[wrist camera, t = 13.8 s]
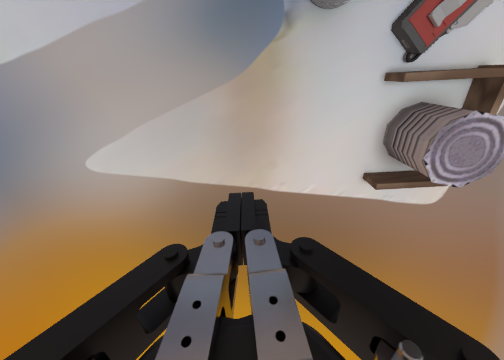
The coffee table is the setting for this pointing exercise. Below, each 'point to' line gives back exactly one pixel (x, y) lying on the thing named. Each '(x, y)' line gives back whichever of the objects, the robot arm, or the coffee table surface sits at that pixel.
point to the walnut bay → (479, 98)
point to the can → (446, 142)
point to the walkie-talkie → (433, 22)
